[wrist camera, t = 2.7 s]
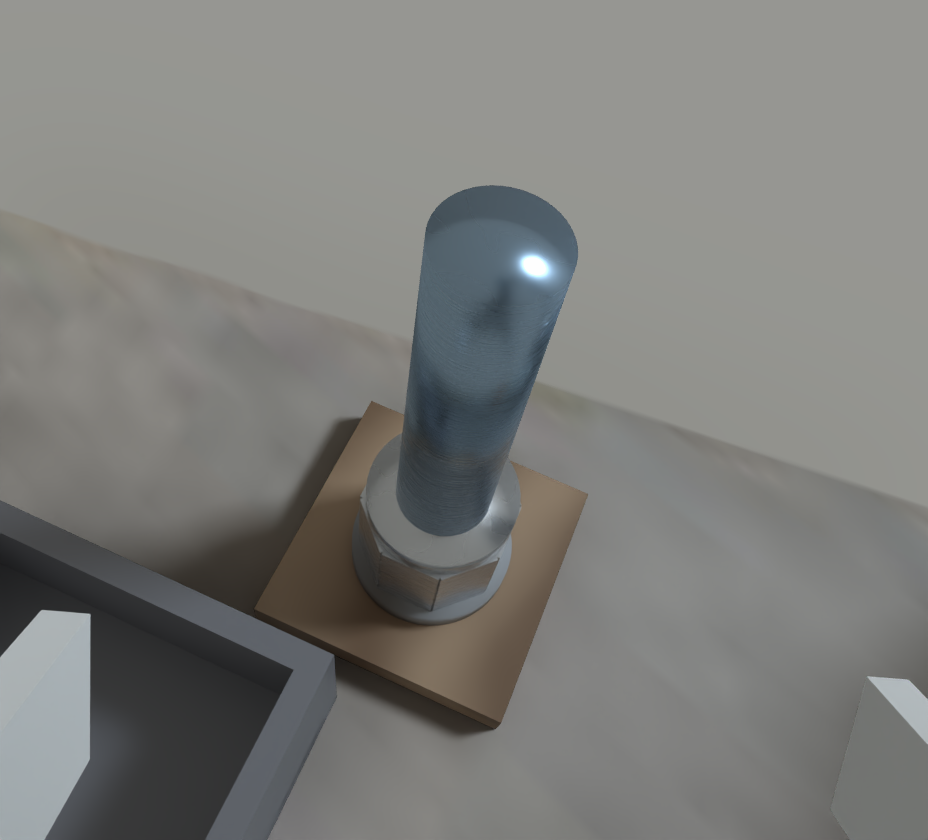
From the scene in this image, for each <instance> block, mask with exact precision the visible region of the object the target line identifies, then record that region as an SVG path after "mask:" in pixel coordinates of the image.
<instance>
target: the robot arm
mask: <svg viewBox="0 0 928 840" xmlns="http://www.w3.org/2000/svg"><path fill="white" fill-rule="evenodd" d="M89 760H90V614H86V613H74V612H61V611H49V610H41V611H40V612H39V613H38V614H37V616H36V617H35V618H34V619H33V620H32V621H31V622H30V624H29V625H28V626H27V627H26V628H25V629H24V631H23V632H22V633H21V634H20V635H19V636H18V637H17V639H16V640H15V641H14V642H13V643H12V644H11V645H10V647H9V648H8V649H7V650H6V651H5V652H4V653H3V655H2V656H1V657H0V840H45V838H46V836H47V834H48V833H49V831H50V829H51V827H52V826H53V824H54V822H55V820H56V818H57V817H58V815H59V813H60V811H61V810H62V808H63V806H64V804H65V803H66V801H67V799H68V797H69V795H70V794H71V792H72V790H73V788H74V787H75V785H76V783H77V781H78V780H79V778H80V776H81V774H82V772H83V771H84V769H85V767H86V765H87V764H88V762H89ZM830 810H831V812H832V813H833V815H834V816H835V818H836V819H837V821H838V823H839V824H840V826H841V827H842V829H843V830H844V832H845V833H846V835H847V836H848V838H849V840H928V699H927V698H926V697H925V696H924V695H923V694H922V693H921V692H920V691H919V690H918V689H917V688H916V687H915V686H914V685H913V684H912V683H911V682H910V681H909V680H906V679H894V678H882V677H869V676H867V677H866V680H865V684H864V687H863V691H862V695H861V698H860V702H859V706H858V709H857V713H856V717H855V720H854V724H853V727H852V731H851V735H850V738H849V742H848V746H847V749H846V753H845V756H844V760H843V764H842V767H841V771H840V775H839V778H838V782H837V786H836V789H835V793H834V796H833V800H832V804H831V807H830Z"/></svg>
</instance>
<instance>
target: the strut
mask: <svg viewBox="0 0 928 840" xmlns="http://www.w3.org/2000/svg"><path fill="white" fill-rule="evenodd" d="M577 259H578V247H577V241H576V238H575V236H574V233H573V230H572V229H571V226H570V225H569V224H568V222H567V220H566V219H565V218H564V217H563V216H562V214H561V213H560V212H559V211H557V210H556V209H555V208H554V207H553V206H552V205H550V204H549V203H547V202H546V201H544V200H543V199H541V198H539V197H538V196H536V195H533V194H531V193H529V192H526V191H523V190H520V189H516V188H512V187H506V186H493V185H492V186H491V185H490V186H479V187H473V188H470V189H466V190H463V191H461V192H458V193H456V194H454V195H452V196H450V197H448V198H447V199H446V200H444V201H443V202H442V203H441V204H440V205H439V206H438V207H437V208H436V209H435V211H434V212H433V213H432V215H431V217H430V219H429V221H428V224H427V227H426V232H425V241H424V249H423V258H422V266H421V275H420V284H419V293H418V301H417V310H416V319H415V327H414V336H413V344H412V353H411V362H410V370H409V379H408V388H407V396H406V405H405V414H404V422H403V431H402V433H401V434H399V435H397V436H396V437H394V438H393V439H392V440H390V441H389V442H388V443H387V444H386V445H385V446H384V447H383V448H382V449H381V451H380V452H379V453H378V455H377V456H376V458H375V459H374V461H373V463H372V466H371V468H370V471H369V474H368V477H367V484H366V486H365V488H364V490H363V492H362V494H361V495H360V508H359V540H360V542H361V545H362V548H363V550H364V553H365V556H366V559H367V561H368V564H369V567H370V570H371V572H372V575H373V578H374V581H375V583H376V586H377V587H379V588H378V589H380V590H382V591H385V592H387V593H389V594H391V595H393V596H396V597H398V598H400V599H402V600H404V601H407V602H409V603H411V604H413V605H416V606H418V607H420V608H422V609H424V610H427V611H429V612H430V610H431V611H432V612H434V611H436V610H439V609H442V608H444V607H447V606H450V605H453V604H455V603H458V602H461V601H464V600H466V599H469V598H472V597H475V596H477V595H480V594H483V593H484V591H486V589H487V587H488V585H489V582H490V580H491V578H492V576H493V573H494V571H495V569H496V566H497V564H498V562H499V560H500V557H501V555H502V553H503V550H504V548H505V546H506V543H507V541H508V539H509V536H510V534H511V531H512V529H513V527H514V525H515V522H516V520H517V517H518V515H519V513H520V510H521V508H522V507H521V502H520V498H521V494H520V485H519V481H518V477H517V474H516V472H515V469H514V467H513V465H512V464H511V462H510V460H509V459H508V454H509V451H510V449H511V446H512V443H513V440H514V437H515V435H516V432H517V429H518V426H519V424H520V421H521V418H522V415H523V412H524V410H525V407H526V404H527V401H528V398H529V396H530V393H531V390H532V387H533V384H534V382H535V379H536V376H537V373H538V371H539V368H540V365H541V362H542V359H543V356H544V354H545V351H546V348H547V345H548V343H549V340H550V337H551V334H552V332H553V329H554V326H555V323H556V320H557V317H558V315H559V312H560V309H561V306H562V304H563V301H564V298H565V295H566V292H567V290H568V287H569V284H570V281H571V279H572V276H573V273H574V270H575V267H576V264H577Z"/></svg>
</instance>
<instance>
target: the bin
mask: <svg viewBox="0 0 928 840" xmlns="http://www.w3.org/2000/svg"><path fill="white" fill-rule="evenodd" d="M41 610H49V611H61V612H74V613H86V614H90V760H89V762H88V764H87V765H86V767H85V769H84V771H83V772H82V774H81V776H80V778H79V780H78V781H77V783H76V785H75V787H74V788H73V790H72V792H71V794H70V795H69V797H68V799H67V801H66V803H65V804H64V806H63V808H62V810H61V811H60V813H59V815H58V817H57V818H56V820H55V822H54V824H53V826H52V827H51V829H50V831H49V833H48V834H47V836H46V838H45V840H267V839H268V837H269V835H270V833H271V831H272V829H273V827H274V825H275V823H276V821H277V819H278V817H279V815H280V812H281V810H282V808H283V806H284V804H285V802H286V800H287V798H288V796H289V794H290V792H291V790H292V788H293V786H294V784H295V782H296V780H297V778H298V775H299V773H300V771H301V769H302V767H303V765H304V763H305V761H306V759H307V757H308V755H309V753H310V751H311V749H312V747H313V745H314V743H315V741H316V738H317V736H318V734H319V732H320V730H321V728H322V726H323V724H324V722H325V720H326V718H327V716H328V714H329V712H330V710H331V708H332V706H333V704H334V701H335V699H336V697H337V695H336V677H335V660H334V655H333V654H331V653H329V652H327V651H325V650H323V649H320V648H318V647H316V646H314V645H312V644H310V643H307V642H305V641H303V640H301V639H299V638H297V637H294V636H292V635H290V634H288V633H286V632H284V631H281V630H279V629H277V628H275V627H273V626H271V625H269V624H266V623H264V622H262V621H260V620H258V619H256V618H253V617H251V616H249V615H247V614H245V613H243V612H240V611H238V610H236V609H234V608H232V607H230V606H227V605H225V604H223V603H221V602H219V601H217V600H214V599H212V598H210V597H208V596H206V595H204V594H201V593H199V592H197V591H195V590H193V589H191V588H189V587H186V586H184V585H182V584H180V583H178V582H176V581H173V580H171V579H169V578H167V577H165V576H163V575H160V574H158V573H156V572H154V571H152V570H150V569H147V568H145V567H143V566H141V565H139V564H137V563H134V562H132V561H130V560H128V559H126V558H124V557H122V556H119V555H117V554H115V553H113V552H111V551H109V550H106V549H104V548H102V547H100V546H98V545H96V544H93V543H91V542H89V541H87V540H85V539H83V538H80V537H78V536H76V535H74V534H72V533H70V532H67V531H65V530H63V529H61V528H59V527H57V526H54V525H52V524H50V523H48V522H46V521H44V520H42V519H39V518H37V517H35V516H33V515H31V514H29V513H26V512H24V511H22V510H20V509H18V508H16V507H13V506H11V505H9V504H7V503H5V502H3V501H0V657H1V656H2V655H3V653H4V652H5V651H6V650H7V649H8V648H9V647H10V645H11V644H12V643H13V642H14V641H15V640H16V639H17V637H18V636H19V635H20V634H21V633H22V632H23V631H24V629H25V628H26V627H27V626H28V625H29V624H30V622H31V621H32V620H33V619H34V618H35V617H36V616H37V614H38V613H39V612H40V611H41Z"/></svg>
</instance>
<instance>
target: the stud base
mask: <svg viewBox="0 0 928 840" xmlns="http://www.w3.org/2000/svg"><path fill="white" fill-rule="evenodd" d="M403 422H404V415H403V414H400V413H398V412H396V411H393V410H391V409H389V408H386V407H384V406H382V405H379V404H377V403H375V402H372V401H371V403H370V405H369V406H368V408H367V410H366V412H365V413H364V415H363V417H362V419H361V420H360V422H359V424H358V426H357V428H356V429H355V431H354V433H353V435H352V436H351V438H350V440H349V442H348V443H347V445H346V447H345V449H344V450H343V452H342V454H341V456H340V458H339V459H338V461H337V463H336V465H335V466H334V468H333V470H332V472H331V473H330V475H329V477H328V479H327V480H326V482H325V484H324V486H323V488H322V489H321V491H320V493H319V495H318V496H317V498H316V500H315V502H314V503H313V505H312V507H311V509H310V510H309V512H308V514H307V516H306V518H305V519H304V521H303V523H302V525H301V526H300V528H299V530H298V532H297V533H296V535H295V537H294V539H293V540H292V542H291V544H290V546H289V548H288V549H287V551H286V553H285V555H284V556H283V558H282V560H281V562H280V563H279V565H278V567H277V569H276V570H275V572H274V574H273V576H272V578H271V579H270V581H269V583H268V585H267V586H266V588H265V590H264V592H263V593H262V595H261V597H260V599H259V600H258V602H257V604H256V606H255V608H254V611H255V614H256V617H257V619H258V620H260V621H262V622H265V623H267V624H269V625H271V626H273V627H275V628H277V629H280V630H282V631H284V632H286V633H288V634H290V635H293V636H295V637H297V638H299V639H301V640H303V641H306V642H308V643H310V644H312V645H314V646H316V647H319V648H321V649H323V650H325V651H327V652H329V653H332V654H334V655H336V656H338V657H340V658H342V659H344V660H347V661H349V662H351V663H353V664H355V665H357V666H360V667H362V668H364V669H366V670H368V671H370V672H373V673H375V674H377V675H379V676H381V677H383V678H386V679H388V680H390V681H392V682H394V683H396V684H399V685H401V686H403V687H405V688H407V689H409V690H412V691H414V692H416V693H418V694H420V695H422V696H424V697H427V698H429V699H431V700H433V701H435V702H437V703H440V704H442V705H444V706H446V707H448V708H450V709H453V710H455V711H457V712H459V713H461V714H463V715H466V716H468V717H470V718H472V719H474V720H476V721H479V722H481V723H483V724H485V725H487V726H489V727H491V728H494V729H496V728H497V727H498V726H499V725H500V724H501V722H502V719H503V717H504V714H505V711H506V709H507V706H508V703H509V701H510V698H511V696H512V693H513V690H514V688H515V685H516V682H517V680H518V677H519V675H520V672H521V669H522V667H523V664H524V661H525V659H526V656H527V654H528V651H529V648H530V646H531V643H532V640H533V638H534V635H535V633H536V630H537V627H538V625H539V622H540V619H541V617H542V614H543V612H544V609H545V606H546V604H547V601H548V599H549V596H550V593H551V591H552V588H553V585H554V583H555V580H556V578H557V575H558V572H559V570H560V567H561V564H562V562H563V559H564V557H565V554H566V551H567V549H568V546H569V543H570V541H571V538H572V536H573V533H574V530H575V528H576V525H577V522H578V520H579V517H580V515H581V512H582V509H583V507H584V504H585V501H586V499H587V496H588V494H587V493H584V492H582V491H580V490H577V489H575V488H573V487H570V486H568V485H566V484H563V483H561V482H559V481H556V480H554V479H552V478H549V477H547V476H545V475H542V474H540V473H538V472H535V471H533V470H531V469H528V468H526V467H524V466H521V465H519V464H517V463H514V462H512V461H510V462H511V464H512V465H513V467H514V469H515V472H516V474H517V477H518V481H519V485H520V494H521V498H520V502H521V507H522V508H521V510H520V513H519V515H518V517H517V520H516V522H515V525H514V527H513V529H512V531H511V534H510V536H509V539H508V541H507V543H506V546H505V548H504V550H503V553H502V555H501V557H500V560H499V562H498V564H497V566H496V569H495V571H494V573H493V576H492V578H491V580H490V582H489V585H488V587H487V589H486V591H484V593H483V594H480V595H477V596H475V597H472V598H469V599H466V600H464V601H461V602H458V603H455V604H453V605H450V606H447V607H444V608H442V609H439V610H436V611H434V612H432V611H431V610H430V612H429V611H427V610H424V609H422V608H420V607H418V606H416V605H413V604H411V603H409V602H407V601H404V600H402V599H400V598H398V597H396V596H393V595H391V594H389V593H387V592H385V591H382V590H380V589H378V588H379V587H377V586H376V583H375V581H374V578H373V575H372V572H371V570H370V567H369V564H368V561H367V559H366V556H365V553H364V550H363V548H362V545H361V542H360V540H359V508H360V495H361V494H362V492H363V490H364V488H365V486H366V484H367V477H368V474H369V471H370V468H371V466H372V463H373V461H374V459H375V458H376V456H377V455H378V453H379V452H380V451H381V449H382V448H383V447H384V446H385V445H386V444H387V443H388V442H389V441H390V440H392V439H393V438H394V437H396V436H397V435H399V434H401V433H402V431H403Z"/></svg>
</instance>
